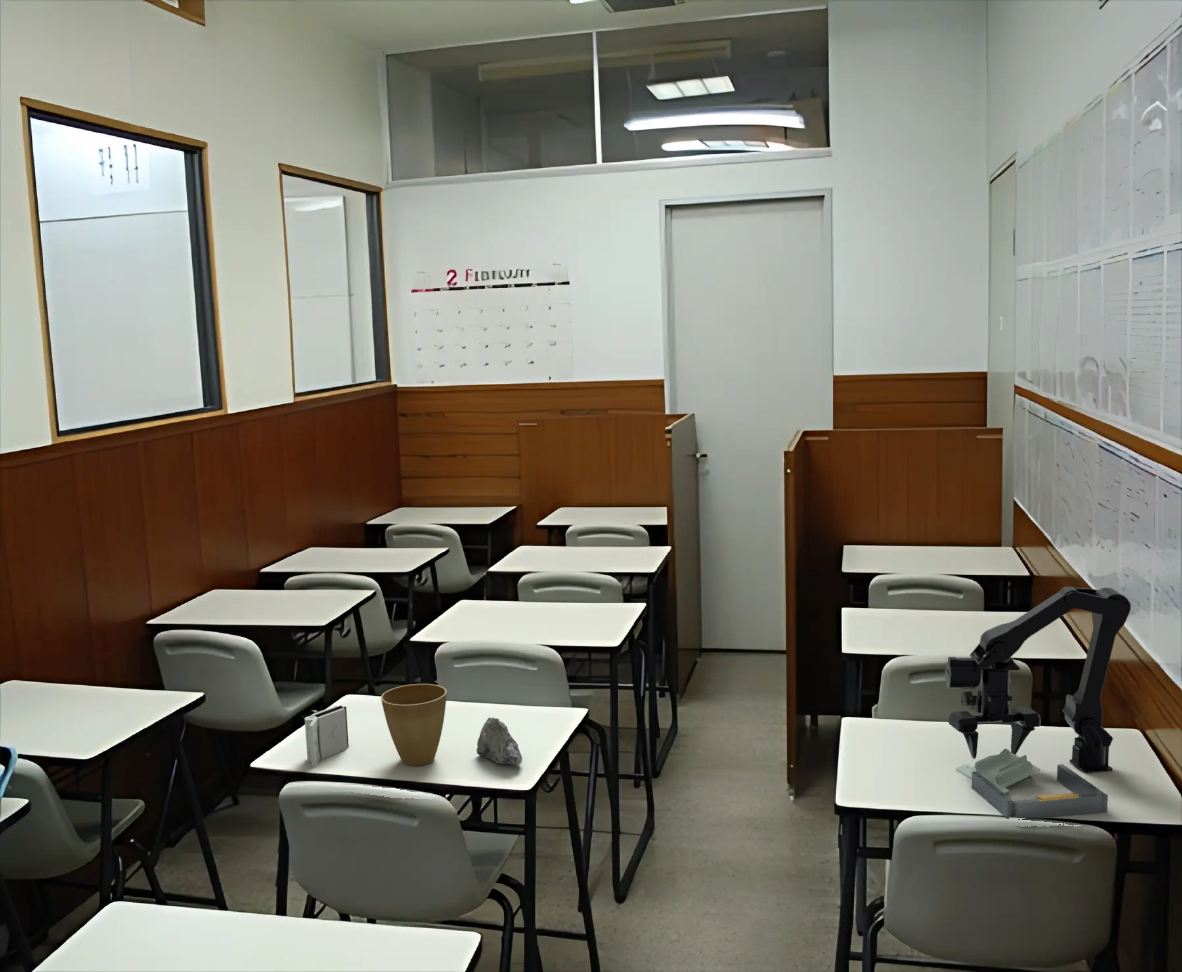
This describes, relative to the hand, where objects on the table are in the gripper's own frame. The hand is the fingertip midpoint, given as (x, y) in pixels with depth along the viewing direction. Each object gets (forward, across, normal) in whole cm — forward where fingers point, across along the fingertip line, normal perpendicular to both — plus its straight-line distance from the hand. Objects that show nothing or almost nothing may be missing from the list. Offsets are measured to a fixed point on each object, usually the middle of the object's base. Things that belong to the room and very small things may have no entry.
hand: (993, 756), depth 242 cm
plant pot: (+2, +126, -28) cm, 129 cm away
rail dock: (+2, 0, +18) cm, 18 cm away
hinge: (+2, +148, -35) cm, 152 cm away
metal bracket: (+3, +2, +7) cm, 8 cm away
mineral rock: (+2, +108, -23) cm, 110 cm away
